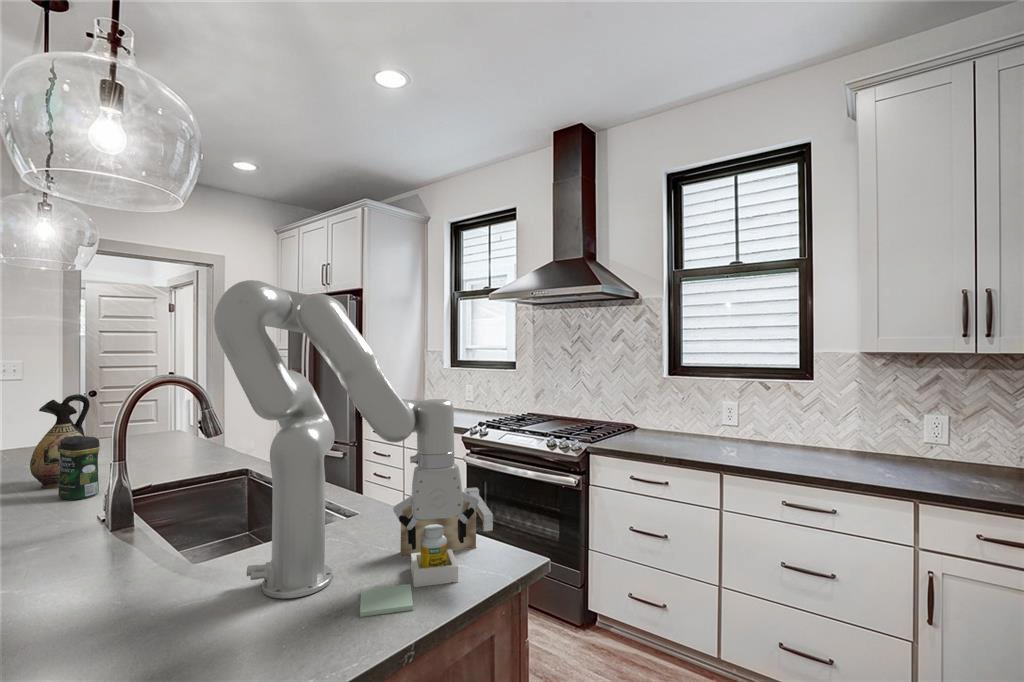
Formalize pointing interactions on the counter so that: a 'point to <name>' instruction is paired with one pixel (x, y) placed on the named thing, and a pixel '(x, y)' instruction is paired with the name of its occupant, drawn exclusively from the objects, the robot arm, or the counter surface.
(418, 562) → the hollow square frame
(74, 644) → the counter surface
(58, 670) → the counter surface
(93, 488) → the coffee jar
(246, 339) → the robot arm
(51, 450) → the ceramic jug
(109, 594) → the counter surface
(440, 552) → the supplement bottle
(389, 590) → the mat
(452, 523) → the wooden block
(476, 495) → the bar
